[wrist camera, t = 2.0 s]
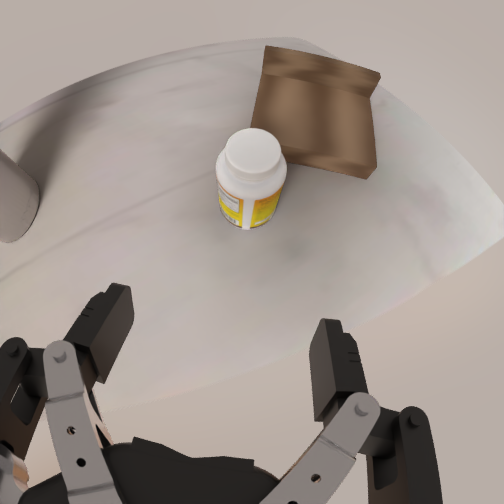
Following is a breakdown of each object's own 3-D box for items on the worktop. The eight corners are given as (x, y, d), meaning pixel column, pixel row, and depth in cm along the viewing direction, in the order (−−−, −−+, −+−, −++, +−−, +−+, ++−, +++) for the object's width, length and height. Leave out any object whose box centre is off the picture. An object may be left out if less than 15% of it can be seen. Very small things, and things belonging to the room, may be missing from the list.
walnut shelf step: (246, 155, 31) (249, 114, 24) (260, 85, 34) (265, 45, 27) (366, 179, 31) (393, 147, 24) (361, 107, 34) (379, 72, 27)
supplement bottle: (277, 186, 30) (296, 126, 20) (270, 236, 29) (289, 190, 19) (225, 177, 30) (222, 114, 20) (214, 226, 29) (205, 176, 19)
